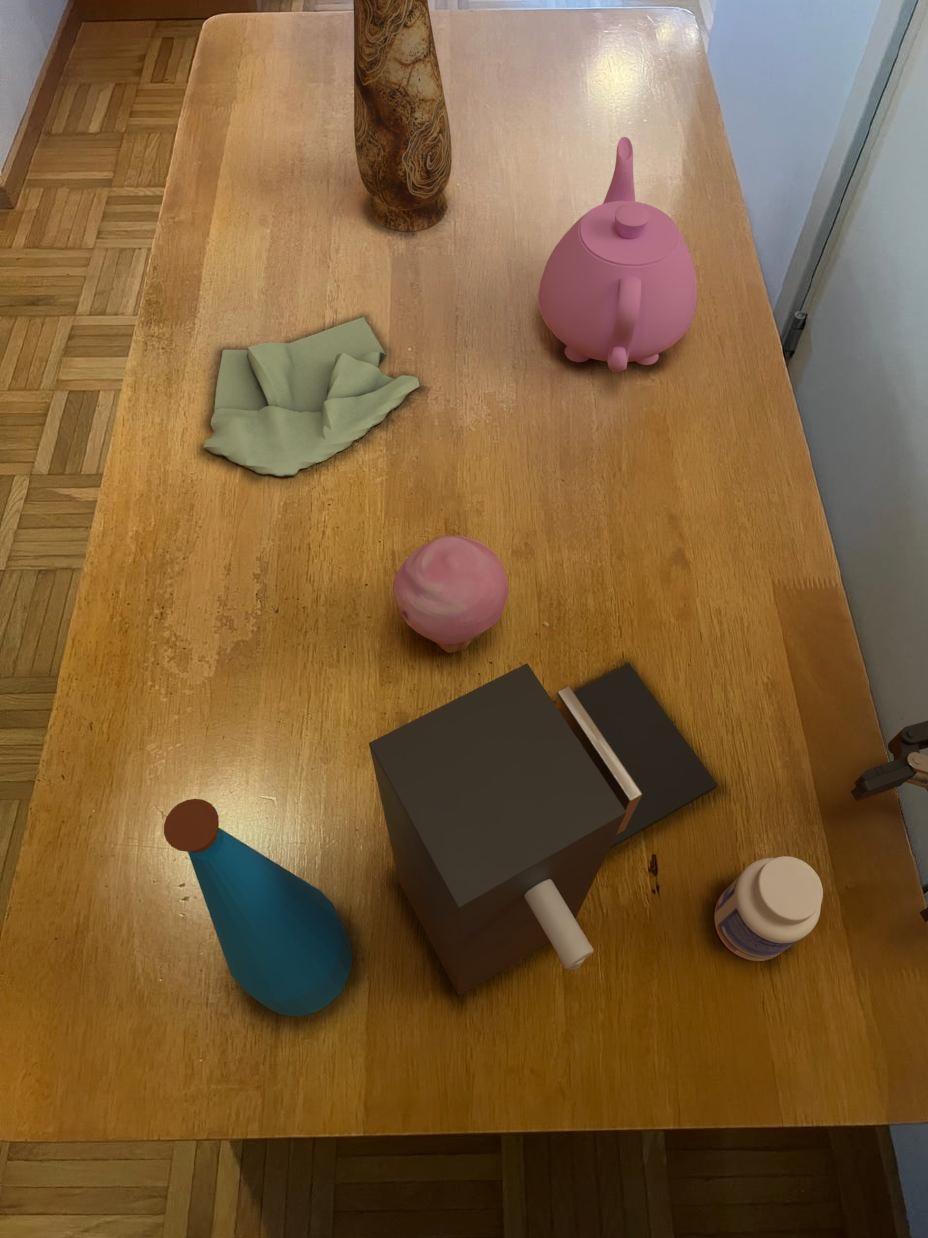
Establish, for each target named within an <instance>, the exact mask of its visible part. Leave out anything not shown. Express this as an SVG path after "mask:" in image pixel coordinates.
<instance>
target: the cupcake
mask: <svg viewBox="0 0 928 1238" xmlns="http://www.w3.org/2000/svg"><path fill="white" fill-rule="evenodd" d="M395 574H396V575H395V577H394V580H393V587H392V590H393V591H392V592H393V598H394V603H395V605H396V608H397V610H398V612H399V613H400V616H401V617H402V618H403V619H404V621H405V623H406V624H407V625H408V626H409V627H410V628H411V629H412V630H413V631H415V632H416V633H417V634H419V635H420V636H421V637H424V638H426V639H428V640H430V641H432V642H433V643H435V644H437V646H438V647H439V648H441V649H442V650H443V651H445V652H446V653H448V654H451V653H455V652H456V653H458V652H462V651H463V652H464V651H465V650H466V649H467V647H468V646H470V644H472V643H473V642H475V641H477V640H478V639H479V638H480V637H481V636H482V635H483V633H484V632H486V631H487V630H488V629H490V628H492V627H493V626H495V624H497V622H498V621H499V620H500V618H501V616H502V614H503V612H504V609H505V607H506V603H507V601H508V596H509V581H508V576H507V574H506V571H505V568H504V565H503V563H502V561H501V560H500V558H499V557H498V555H497V554H496V552H494V551H493V550H492V549H491V548H490V547H488V546H487V545H486V544H484V543H483V542H481V541H479V540H478V539H475V538H472V537H468V536H464V535H446V536H445V535H444V536H440V537H438V538H435V539H433V540H431V541H428V542H427V543H425V544H423V545H421V546H419V547H418V548H417V549H415V550H414V551H413V552H412V553H411V554H410V555H409V556H408V557H407V558H406V559H405V560H404V561H403V563H401V564H400V566H399V568H398V570H397V572H396V573H395Z"/></svg>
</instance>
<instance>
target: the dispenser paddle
mask: <svg viewBox="0 0 928 1238" xmlns="http://www.w3.org/2000/svg"><path fill="white" fill-rule="evenodd" d="M573 692H574V690H572V689H571V687H570V686H569V685H568V686H566V687H564V688H562V689H559V690H558V691H556V694H555V698H554V701H555V703H554V704H555V705H556V707H557V708H558V710H559V711H560V713H561V714H562V716H563V717H564V719H565V720H566V722H567V723H568V725H569V726H570V728H571V729H572V731H573V732H574V734H575V735H576V737H577V738H578V740H579V741H580V743H581V744H582V746H583V747H584V749H585V750H586V752H587V753H588V755H589V756H590V758H591V759H592V761H593V762H594V764H595V765H596V767H597V768H598V770H599V771H600V773H601V774H602V776H603V777H604V779H605V780H606V782H607V783H608V785H609V786H610V788H611V789H612V791H613V792H614V794H615V795H616V797H617V798H618V800H619V801H620V803H621V804H622V806H623V807H624V809H625V810H626V812H627V813H626V815H625V817H624V819H623V821H622V823H621V825H620V827H619V829H618V831H617V834H619V833H621V832H622V831H624V830H625V828H626V826H627V824H628V822H629V820H630V818H631V816H632V814H633V812H634V810H635V808H636V806H637V804H638V802H639V800H640V798H641V796H642V792H641V791H640V790H639V788H638V787H637V785H636V784H635V782H634V781H633V779H632V778H631V776H630V775H629V773H628V772H627V770H626V769H625V768H624V766H623V765H622V763H621V762H620V760H619V759H618V757H617V756H616V754H615V753H614V751H613V750H612V748H611V747H610V746H609V744H608V743H607V741H606V740H605V738H604V737H603V735H602V734H601V732H600V731H599V729H598V728H597V726H596V725H595V724H594V722H593V721H592V719H591V718H590V716H589V715H588V713H587V712H586V710H585V709H584V707H583V706H582V704H581V703H580V702H579V700H578V699H577V697H576V696H575V694H574V693H573ZM617 834H616V835H617Z"/></svg>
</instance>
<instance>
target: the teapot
mask: <svg viewBox="0 0 928 1238" xmlns="http://www.w3.org/2000/svg"><path fill="white" fill-rule="evenodd" d="M696 273H697V272H696V269H695V264H694V260H693V257H692V255H691V252H690V249H689V247H688V245H687V243H686V241H685V238H684V236H683V234H682V232H681V231H680V229H679V228H678V226H677V224H676V223H675V221H674V220H673V219H672V217H670V216H669V215H668V214H667V213H666V212H664V211H662V210H661V209H660V208H658V207H656V206H654V205H651V204H647V203H645V202H641V201H636V194H635V180H634V148H633V144H632V141H631V140H630V138H628V137H627V136H621V137H620V138H619V140H618V142H617V147H616V153H615V165H614V171H613V174H612V178H611V181H610V184H609V186H608V189H607V192H606V194H605V197H604V200H603V202H602V204H599V205H597V206H595V207H593V208H591V209H589V210H588V211H587V212H586V213H584V214H583V215H582V216H581V217H580V218H579V219H578V220H577V221H576V222H575V223H574V224H572V226H571V227H570V228H569V229H568V231H566V232H565V233H564V235H563V236H562V237H561V238H560V240H559V241H558V242H557V243H556V244H555V246H554V248H553V249H552V251H551V253H550V255H549V257H548V259H547V261H546V264H545V266H544V269H543V272H542V274H541V275H542V276H541V278H540V282H539V289H538V295H537V297H538V298H537V299H538V307H539V311H540V314H541V316H542V318H543V320H544V323H545V324H546V326H547V328H548V329H549V330H550V331H551V332H552V333H553V334H554V336H555V337H556V338H557V339H558V340H560V342H562V343H563V344H564V345H565V346H566V347H565V349H564V354H565V356H566V357H567V359H569V360H570V361H572V362H576V363H583V362H586V361H588V360H590V359H593V360H596V361H600V362H607V367H608V369H609V370H611V371H612V372H616V373H620V372H623V371H625V370H626V369H627V366H628V363H629V362H631V363H633V362H635V363H637V364H640V365H642V366H643V365H644V366H648V365H653V364H655V363H656V362H657V361H658V360H659V357H660V356H659V354H660V353H662V352H664V351H666V350H668V349H670V348H671V347H673V346H674V345H675V344H677V343H678V342H679V341H680V340H681V339H682V338H683V337H684V335H685V334H686V333H687V332H688V330H689V329H690V328H691V325H692V323H693V321H694V317H695V313H696V308H697V301H698V282H697V279H698V278H697V274H696Z"/></svg>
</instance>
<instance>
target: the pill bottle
mask: <svg viewBox="0 0 928 1238" xmlns="http://www.w3.org/2000/svg"><path fill="white" fill-rule="evenodd" d="M823 898H824V889H823V884H822V881H821V879H820V877H819V875H818V874H817V872H816V871H815V870H814V869H813V868H812V866H811V865H810V864H808V863H807V862H806V861H804V860H801V859H800V858H797V857H794V856H789V855H788V856H787V855H785V856H782V855H781V856H777V857H765V858H760V859H758V860H756V861H753V862H752V863H750V864H749V865H748V866H747V867H746V868H745V869H743V871H741V873H740V874H739V875H738V876H737V877H736V878H735V880H733V881H732V882H731V884H730V885H728V887H727V888H725V890H724V891H722V893H721V894H720V896H719V898H718V900H717V902H716V905H715V908H714V914H713V915H714V916H713V917H714V918H713V920H714V927H715V930H716V933H717V935H718V937H719V939H720V941H721V942H722V943H723V944H724V946H725V947H726V948H727V949H728V950H729V951H731V952H732V953H733V954H734V955H736V956H738V957H740V958H743V959H745V960H747V961H752V962H765V961H768V960H771V959H773V958H775V957H777V956H779V955H781V954H782V953H783V952H784V951H786V950H787V949H789V948H791V947H792V946H793V945H795V944H796V943H797V942H799V941H800V940H802V939H803V938H805V937H806V936H808V935H809V934H810V933H812V931H813V930H814V928H815V927H816V925H817V923H818V922H819V919H820V916H821V909H822V902H823Z"/></svg>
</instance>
